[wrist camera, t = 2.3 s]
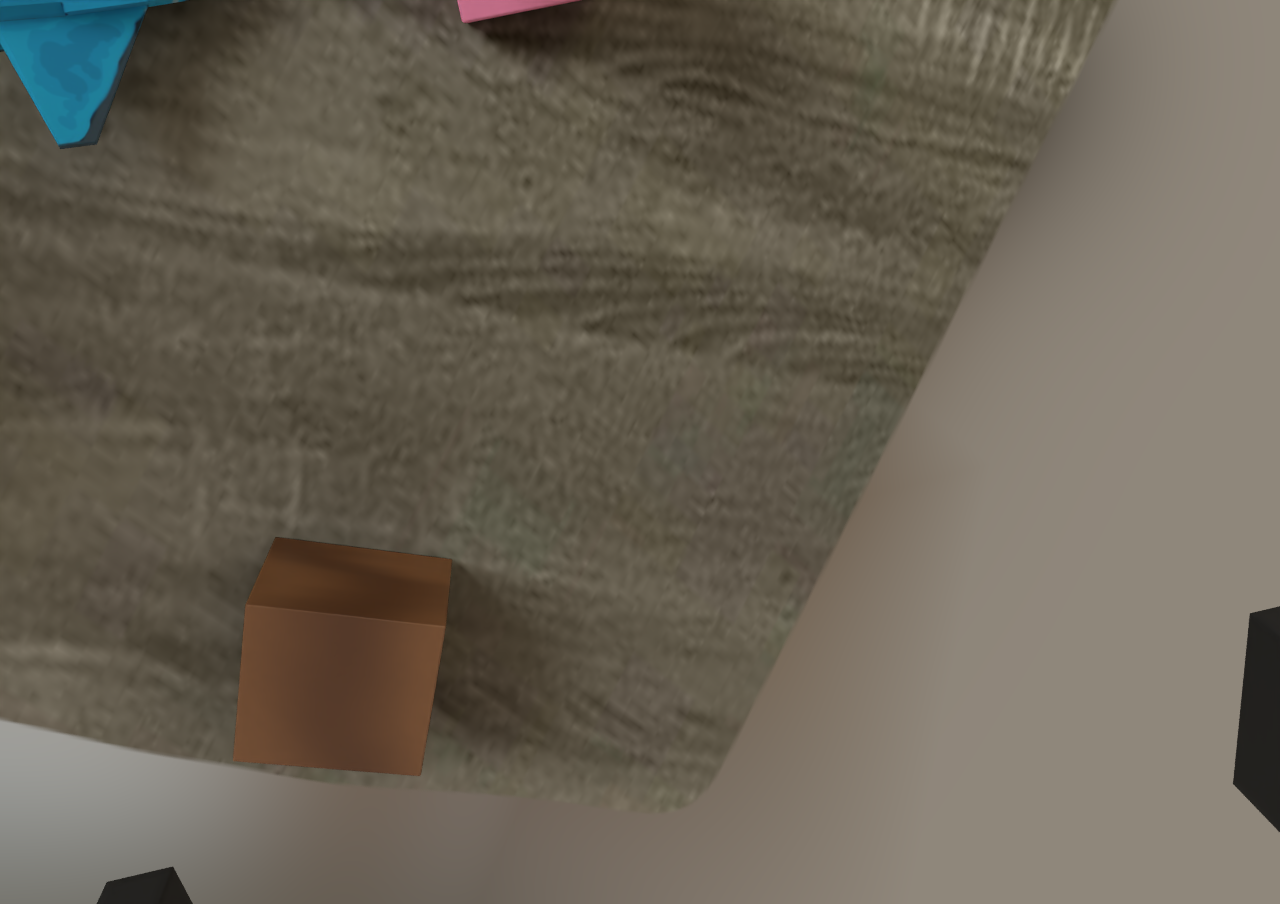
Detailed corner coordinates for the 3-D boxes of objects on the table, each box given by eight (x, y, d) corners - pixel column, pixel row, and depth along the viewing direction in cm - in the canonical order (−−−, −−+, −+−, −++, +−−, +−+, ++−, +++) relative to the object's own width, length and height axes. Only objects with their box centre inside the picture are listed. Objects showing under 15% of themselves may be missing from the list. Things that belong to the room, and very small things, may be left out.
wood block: (262, 680, 41) (232, 761, 37) (275, 536, 39) (245, 604, 34) (429, 696, 43) (420, 776, 38) (452, 558, 40) (446, 626, 36)
